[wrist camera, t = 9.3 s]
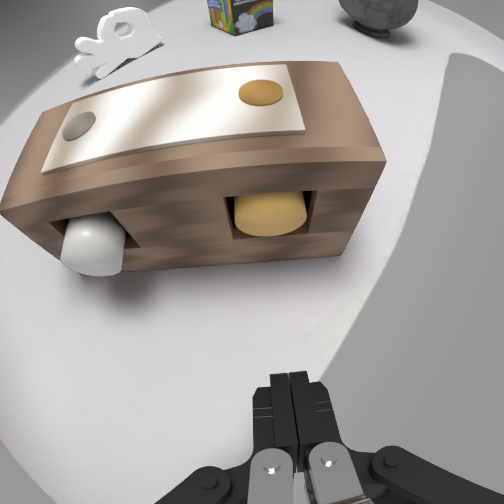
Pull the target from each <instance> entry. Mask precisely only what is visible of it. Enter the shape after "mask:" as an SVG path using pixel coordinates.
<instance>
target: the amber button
mask: <svg viewBox="0 0 504 504" xmlns="http://www.w3.org/2000/svg"><path fill="white" fill-rule="evenodd" d="M234 212H235V224H236V226H237V228H238V229H239V230H241V231H242V232H244V233H247V234H250V235H254V236H266V237H267V236H277V235H282V234H286V233H289V232H291V231H294V230H295V229H297V228H299V227H300V226H301V225H302V224H303V223H304V222H305V220H306V218H307V213H306V208H305V202H304V197H303V191H296V192H281V193H267V194H254V195H242V196H234Z"/></svg>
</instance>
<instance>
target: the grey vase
mask: <svg viewBox="0 0 504 504" xmlns="http://www.w3.org/2000/svg"><path fill="white" fill-rule="evenodd" d="M339 3H340V5H341V7H342V8H343V9H344V10H345V11H346V12H347V13H348V14H349V15H350V16H351V17H352V18H353V19H355V21H353V26H354V27H355V28H356V29H357V30H359V31H361V32H363V33H365V34H368V35H371V36H374V37H379V38H387V37H389V36H390V32H389V30H388V29H395V28H399V27H401V26H403V25H405V24H407V23H408V22H409V21H410V20H411V19H412V18H413V16H414V15H415V13H416V10H417V7H418V0H339Z"/></svg>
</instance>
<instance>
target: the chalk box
mask: <svg viewBox="0 0 504 504" xmlns="http://www.w3.org/2000/svg"><path fill="white" fill-rule="evenodd" d="M207 2H208V8H209V14H210V19H211V25H212V26H215V27H217V28H219V29H221V30H223V31H225V32H228V33H230V34H232V35H234V36H236V35H238V34H242V33H245V32H249V31H252V30H256V29H260V28H264V27H269V26H273V0H207Z"/></svg>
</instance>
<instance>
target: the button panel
mask: <svg viewBox="0 0 504 504" xmlns="http://www.w3.org/2000/svg"><path fill="white" fill-rule="evenodd" d="M386 162H387V160H386V158H385V155H384V153H383V151H382V148H381V146H380V144H379V141H378V139H377V137H376V135H375V132H374V130H373V128H372V126H371V124H370V122H369V119H368V117H367V115H366V113H365V111H364V109H363V107H362V105H361V103H360V101H359V99H358V97H357V95H356V93H355V92H354V90H353V88H352V86H351V84H350V82H349V80H348V79H347V77H346V75H345V73H344V71H343V70H342V68H341V66H340V64H339V63H338V62H323V61H278V62H257V63H244V64H233V65H223V66H215V67H207V68H200V69H194V70H188V71H182V72H176V73H171V74H166V75H161V76H156V77H152V78H147V79H143V80H139V81H135V82H131V83H127V84H123V85H120V86H116V87H113V88H109V89H106V90H103V91H99V92H96V93H93V94H90V95H87V96H84V97H81V98H78V99H75V100H73V101H70V102H67V103H65V104H62V105H59V106H57V107H54V108H52V109H49V110H47V111H44V112H42V114H41V116H40V118H39V119H38V121H37V123H36V125H35V127H34V129H33V130H32V132H31V134H30V136H29V138H28V140H27V142H26V144H25V146H24V148H23V150H22V152H21V154H20V156H19V159H18V161H17V163H16V165H15V168H14V170H13V172H12V174H11V177H10V179H9V182H8V184H7V187H6V189H5V192H4V195H3V197H2V200H1V203H0V215H2V216H3V217H4V218H5V219H6V220H8V221H9V222H10V223H11V224H13V225H14V226H15V227H16V228H17V229H19V230H20V231H21V232H23V233H24V234H25V235H26V236H28V237H29V238H30V239H32V240H33V241H34V242H35V243H37V244H38V245H39V246H41V247H42V248H43V249H45V250H46V251H47V252H49V253H50V254H52V255H53V256H54V257H56V258H57V259H59V260H60V258H61V252H62V247H63V242H64V237H65V233H66V228H67V224H68V220H69V218H72V217H78V216H84V215H90V214H96V213H102V212H109V211H111V213H112V214H113V215H114V216H115V218H116V219H117V220H118V221H119V222H120V224H121V225H122V226H123V227H124V228H125V229H126V231H127V232H128V233H129V234H130V235H131V236H132V237H127V238H125V243H124V251H123V259H122V269H121V271H120V272H129V271H143V270H158V269H172V268H186V267H199V266H212V265H226V264H238V263H251V262H264V261H276V260H288V259H301V258H312V257H324V256H336V255H342V253H343V251H344V249H345V247H346V245H347V243H348V241H349V239H350V237H351V235H352V233H353V232H354V230H355V228H356V226H357V224H358V222H359V220H360V218H361V216H362V214H363V212H364V209H365V207H366V205H367V203H368V201H369V199H370V197H371V195H372V193H373V191H374V189H375V186H376V184H377V182H378V180H379V178H380V176H381V173H382V171H383V169H384V167H385V165H386ZM296 191H312V193H311V199H310V204H309V209H308V214H307V219H306V221H305V222H304V223H303V224H302V225H301V226H300V227H299V228H297V229H295V230H294V231H291V232H289V233H286V234H282V235H277V236H267V237H266V236H254V235H250V234H247V233H244V232H242V231H241V230H239V229H238V228H237V227H232V222H231V218H230V214H229V209H228V205H227V201H226V197H231V196H242V195H254V194H267V193H281V192H296ZM60 261H61V260H60ZM77 273H78V272H77ZM79 274H80V275H83V274H81V273H79Z"/></svg>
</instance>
